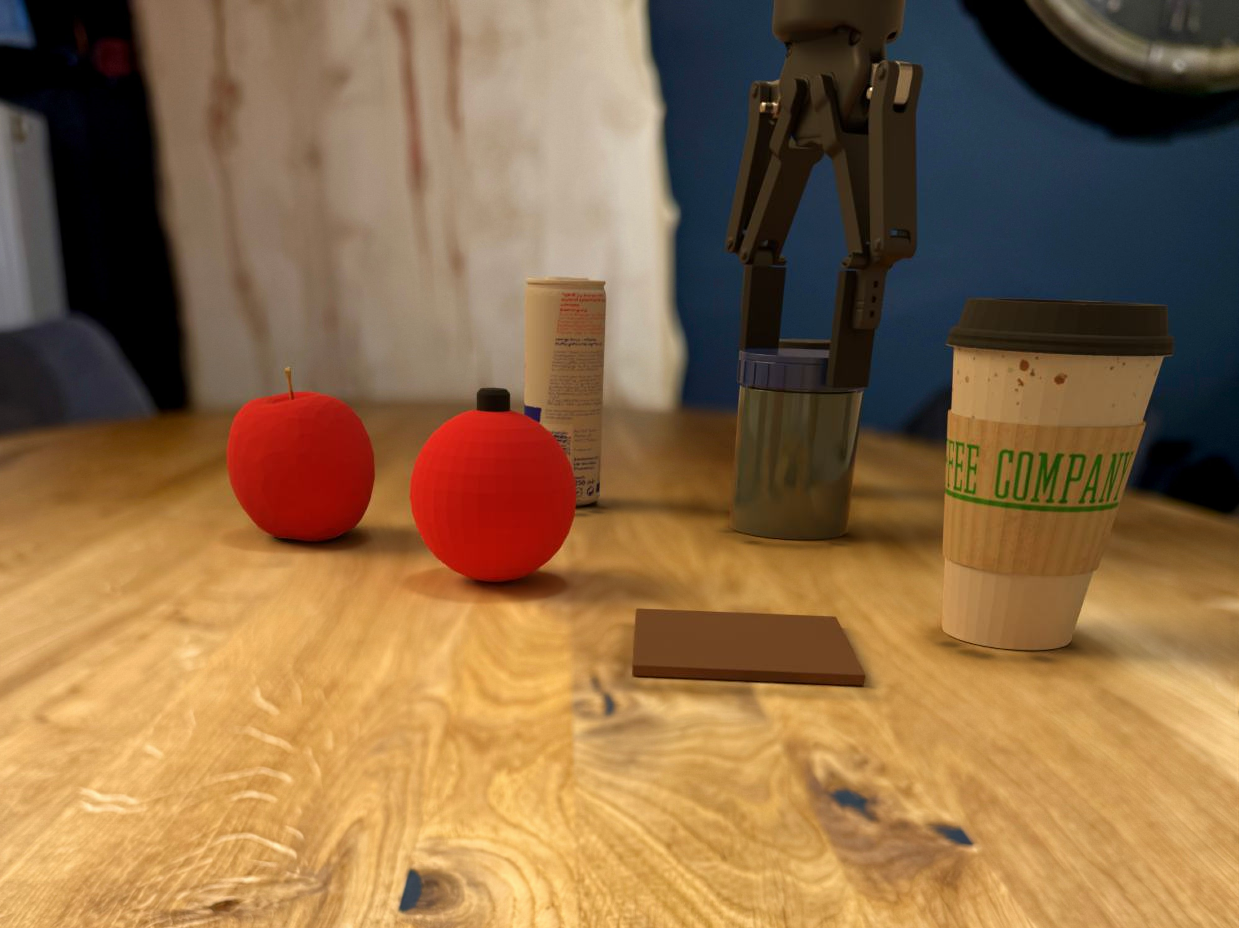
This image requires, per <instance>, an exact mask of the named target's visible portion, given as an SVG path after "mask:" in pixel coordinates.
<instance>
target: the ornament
mask: <svg viewBox="0 0 1239 928" xmlns="http://www.w3.org/2000/svg"><path fill="white" fill-rule="evenodd" d="M576 498H577V497H576V482H575V477H574V474H573V470H572V466H571V463H570V461H569V459H568V457H567V455H566V453H565V451H564V449H563V448H562V446H561V445H560V444H559V442H558V441H557V440H556V438H555V437H554V436H553V435H552V434H551V433H550V432H549V431H548V430H547V429H546V428H544V427H543V426H542V425H541V424H540V423H538V422H537V421H535V420H533V419H532V418H530V417H528V416H526V415H524V413H521V412H518V411H515V410H512V409H511V393H510V391H509V390H508V389H507V388H503V387H481V388H480V389H479V390H478V391H476V409H472V410H468V411H465V412H462V413H460V414H457V415H456V416H454V417H452V418H450V419H448V420H447V421H445V422H444V423H443V424H442V425H441V426H439V428H437V429H436V430H435V431H433V433H432V434H431V435H430V437H429V438H428V439H427V440H426V442H425V443H424V445H422V447H421V449H420V451H419V454H418V455H417V457H416V460H415V462H414V465H413V469H412V473H411V476H410V485H409V501H410V508H411V514H412V518H413V520H414V522H415V526H416V529H417V532H418V534H419V535H420V537H421V539H422V542H424V544H425V546H426V547H427V548H428V550H429V551H430V552H431V553H432V554H433V556H434V557H435V558H436V559H437V560H438V561H440V562H441V563H443V564H444V565H445V566H446V567H448V569H450V570H452V571H453V572H455V573H458V574H459V575H461V576H463V577H466V578H468V579H471V580H472V579H473V580H477V581H482V582H487V583H488V582H489V583H501V582H509V581H512V580H519V579H521V578H524V577H525V576H527V575H531V574H532V573H534V572H536V571H538V570H539V569H540V568H542V567H543V566H544V565H546V564H547V563H548V562H550V560H552V558H554V557H555V555H556V554H557V552H558V551H560V549H561V548H562V547H563V545H564V543H565V541H566V540H567V538H568V536H569V534H570V532H571V529H572V525H573V522H574V519H575V516H576V515H575V514H576V507H577V506H576Z"/></svg>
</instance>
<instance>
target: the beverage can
mask: <svg viewBox="0 0 1239 928" xmlns="http://www.w3.org/2000/svg"><path fill="white" fill-rule="evenodd" d="M525 283H527V285H526V288H525V291H524V293H525V294H524V298H525V299H524V300H525V301H524V397H523V398H524V399H523V400H524V402H523V403H524V404H523V405H524V406H523V414H524V415H526V416H528V417H530V418H532V419H533V420H535V421H537V422H538V423H540V424H541V425H542V426H543V427H544V428H546V429H547V430H548V431H549V432H550V433H551V434H552V435H553V436H554V437H555V438H556V440H557V441H558V442H559V444H560V445H561V446H562V448H563V449H564V451H565V453H566V455H567V457H568V459H569V461H570V463H571V466H572V470H573V474H574V477H575V482H576V497H577V498H576V507H583V506H587V505H589V504H592V503H594V502H596V501H597V500H599V498H600V496H601V493H600V491H601V489H600V488H601V464H602V463H601V459H602V432H603V431H602V429H603V402H604V377H605V376H604V374H605V345H606V344H605V343H606V316H607V315H606V314H607V293H606V290H605V286H606V280H603V279H591V278H590V279H589V278H588V277H569V276H546V277H526V278H525Z"/></svg>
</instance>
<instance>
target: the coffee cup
mask: <svg viewBox="0 0 1239 928" xmlns="http://www.w3.org/2000/svg"><path fill="white" fill-rule="evenodd" d="M1168 312H1169V307H1168V305H1166V304H1158V303H1157V304H1155V303H1141V302H1140V303H1139V302H1122V301H1121V302H1118V301H1099V300H1097V301H1096V300H1070V299H1045V298H1044V299H1043V298H1042V299H1041V298H1012V297H1011V298H1009V297H1008V298H1005V297H968V298H967V300H966V302H965V304H964V307H963V309H962V311H961V315H960V317H959V320H958V321H957V325H953V326H951V328H950V329H949V331H948V334H949V336H948V337H946V340H945V345H946V346H948V347H953V363H952V365H953V366H952V389H951V408H950V409H948V411H947V428H946V453H945V454H946V455H945V477H944V478H945V479H944V483H945V484H944V502H943V503H944V505H943V530H942V531H943V532H942V533H943V534H942V555H943V557H944V570H943V571H944V574H943V577H944V578H943V594H942V596H943V597H942V598H943V599H942V615H941V616H942V617H941V629H942V630H943V631H942V632H944V633H945V634H946V635H948V636H950V637H952V638H955V639H957V640H960V641H963V642H966V643H970V644H973V645H979V646H983V647H990V648H996V649H1005V650H1016V651H1045V650H1055V649H1060V648H1062V647H1065V646H1068V645H1069V644H1070V643H1071V641H1072V640H1073V635H1074V633H1075V629H1076V627H1077V623H1078V620H1079V617H1080V614H1081V611H1082V609H1083V605H1084V602H1085V599H1086V596H1087V593H1088V589H1089V587H1090V583H1091V580H1092V578H1093V574H1094V572H1095V571H1097V570H1098V569H1099V568H1100V567H1099V566H1100V563H1101V561H1102V558H1103V556H1104V555H1103V554H1104V551H1105V549H1106V547H1107V542H1108V541H1109V537H1110V533H1111V530H1112V528H1113V524H1114V523H1115V522H1114V521H1115V519H1116V516H1117V513H1118V510H1119V507H1120V504H1121V500H1122V498H1123V494H1124V492H1125V488H1126V486H1127V482H1128V480H1129V477H1130V473H1131V471H1132V468H1133V465H1134V462H1135V458H1136V457H1137V456H1136V455H1137V452H1138V450H1139V446H1140V444H1141V440H1142V437H1143V434H1144V431H1145V428H1146V425H1147V422H1146V421H1145V420H1144V418H1145V414H1146V411H1147V409H1148V405H1149V402H1150V400H1151V396H1152V393H1153V390H1154V387H1155V385H1156V381H1157V378H1158V375H1159V372H1160V369H1161V366H1162V363H1163V360H1164V357H1172V356H1174V355H1175V347H1174V344H1175V342H1176V339H1175V337H1174V336H1173V335H1170V333H1169V331H1170V329H1169V313H1168Z"/></svg>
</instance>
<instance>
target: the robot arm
mask: <svg viewBox="0 0 1239 928" xmlns="http://www.w3.org/2000/svg"><path fill="white" fill-rule="evenodd" d="M905 10H906V0H773V10H772V11H773V12H772V22H771V23H772V24H771V30H772V34H773V36H774V37H775V39H776V40H778V41H779V42H782V43H783V44H784V46H785V48H786V53H785V54H786V55H785V60H784V63H783V67H782V69H781V73H780V76H779V78H778V79H776V80H773V81H764V80H754V81H752V82H751V83H752V84H751V85H750V88H749V99H748V100H749V101H748V124H747V130H746V136H745V140H744V146H743V149H742V155H741V160H740V164H739V170H738V175H737V181H736V185H735V190H734V196H733V201H732V206H731V211H730V215H729V220H728V224H727V225H728V226H727V231H726V235H725V241H724V248H725V251H726V253H729V254H735V256H737V257H738V259H739V262H740V264H741V265H743V277H742V289H741V299H740V315H741V318H740V332H739V343H738V354H737V360H738V359H739V358H740V357H739V355H740V350H744V349H762V348H779V339H780V336H781V326H782V317H783V316H782V315H783V306H784V296H785V287H786V286H785V285H786V275H787V267H785V265H787V263H788V259H786V257H785V256H784V255H783V254H782V252H783V249H784V247H785V244H786V241H787V238H788V235H789V233H790V230H791V228H792V225H793V222H794V219H795V216H796V214H797V211H798V208H799V206H800V203H801V200H802V199H803V198H802V197H803V195H804V192H805V190H806V187H807V185H808V184H807V183H808V181H809V179H810V177H811V174H812V170H813V168H814V166H815V165H816V164H818V163H820V162H821V161H822V160H823V158H824V156H825V155H826V156H827V157H829V159H830V160H831V163H832V168H833V173H834V180H835V184H836V190H837V197H838V203H839V208H840V215H841V220H842V225H843V232H844V237H845V243H846V249H847V256H846V257H844V258H843V259H842V260H841V261H839V265H840V267H841V268H842V269H838V271H837V272H838V273H837V274H838V275H837V282H836V288H835V289H836V292H835V300H834V306H833V307H834V309H833V315H832V326H831V334H830V340H831V342H830V350H829V359H828V368H827V377H826V385H825V387H830V388H865V389H867V388H868V387H869V386H868V382H869V383H870V380H869V374H870V375H871V372H870V366H871V367H872V357H873V351H874V343H875V335H876V330H878V328H879V326H880V323H881V320H882V311H883V303H884V296H885V289H886V280H887V276H888V275H887V274H888V272H889V271H890V270H891V269H892V268H893V266H894V265H895V264H896V263H897V262H900V261H902V260H904V259H905V260H909V259H910V260H911V259H912V258H913V257H915V255H916V252H917V248H918V190H917V188H918V187H917V186H918V182H917V181H918V180H917V179H918V178H917V177H918V175H917V174H918V173H917V169H918V168H917V166H918V165H917V163H918V162H917V109H918V104H919V99H920V95H921V89H922V82H923V77H924V68H923V66H922V65H921V64H920V63H914V62H907V61H900V60H899V61H898V60H891V59H887V52H886V51H887V50H886V46H887V45H888V44H892V43H893V42H895V41H897V40H898V38H899V37H900V36H901V34H902V32H903V26H904V18H905ZM791 138H792V139H791ZM744 231H745V233H744ZM892 231H896V234H893V233H892Z"/></svg>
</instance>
